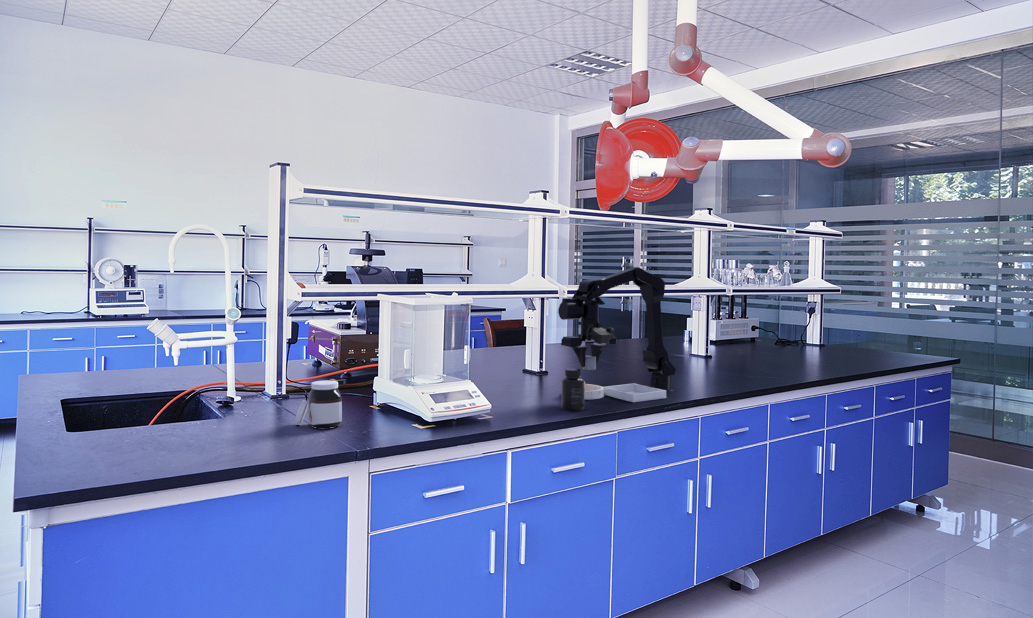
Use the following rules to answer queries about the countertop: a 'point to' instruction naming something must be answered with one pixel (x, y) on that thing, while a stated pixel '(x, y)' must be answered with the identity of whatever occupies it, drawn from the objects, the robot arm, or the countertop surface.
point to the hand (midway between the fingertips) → (588, 366)
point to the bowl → (593, 391)
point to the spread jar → (322, 405)
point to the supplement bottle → (572, 390)
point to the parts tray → (634, 392)
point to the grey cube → (590, 363)
